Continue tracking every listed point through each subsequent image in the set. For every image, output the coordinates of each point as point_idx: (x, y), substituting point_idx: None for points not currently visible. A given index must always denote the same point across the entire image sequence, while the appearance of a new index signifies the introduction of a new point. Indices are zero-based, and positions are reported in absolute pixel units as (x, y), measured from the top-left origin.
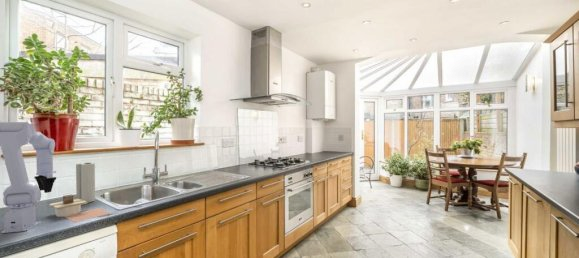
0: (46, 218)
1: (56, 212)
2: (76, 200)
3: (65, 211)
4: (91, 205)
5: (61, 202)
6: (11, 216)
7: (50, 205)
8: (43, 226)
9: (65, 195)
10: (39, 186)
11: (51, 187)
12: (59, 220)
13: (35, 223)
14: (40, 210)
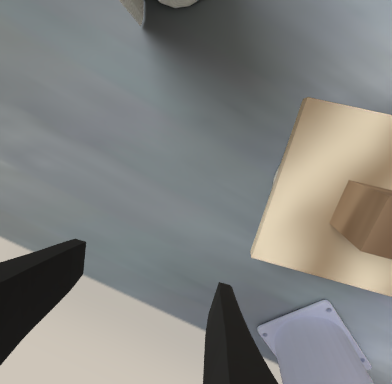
0: None
1: None
2: (361, 144)
3: None
4: (300, 19)
5: (296, 215)
6: None
7: (274, 261)
8: (384, 320)
9: (370, 236)
10: (51, 306)
11: (241, 323)
12: None
13: (336, 324)
14: (118, 192)
